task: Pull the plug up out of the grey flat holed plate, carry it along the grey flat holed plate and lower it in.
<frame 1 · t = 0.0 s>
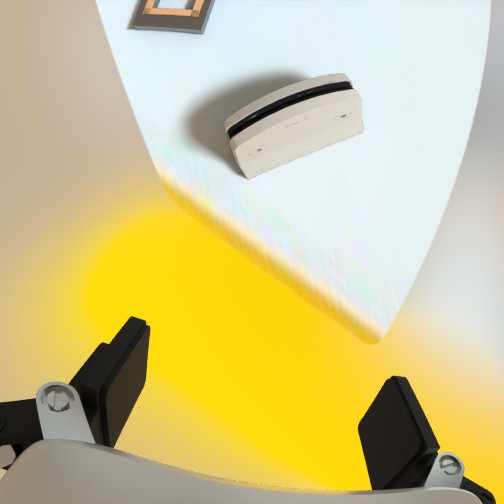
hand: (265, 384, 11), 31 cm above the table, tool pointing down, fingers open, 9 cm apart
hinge: (293, 127, 37), on the table
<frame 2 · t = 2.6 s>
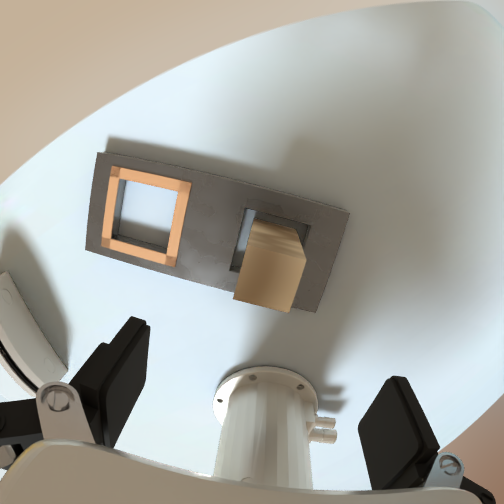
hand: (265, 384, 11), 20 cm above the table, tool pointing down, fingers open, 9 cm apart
plug: (269, 243, 30), resting in grey flat holed plate
grey flat holed plate: (207, 227, 30), on the table
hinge: (33, 323, 35), on the table
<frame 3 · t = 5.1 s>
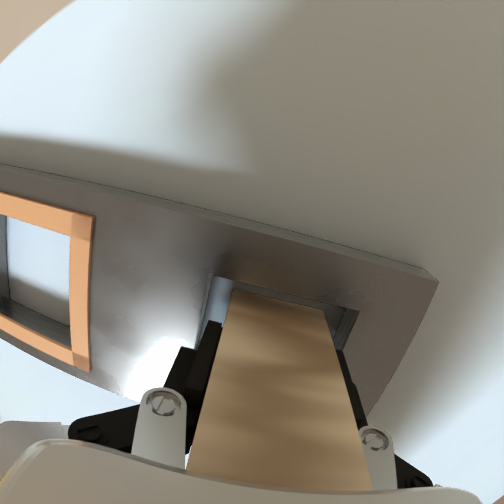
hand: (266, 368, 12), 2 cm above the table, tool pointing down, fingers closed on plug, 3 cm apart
plug: (267, 337, 14), resting in grey flat holed plate, touching gripper
grey flat holed plate: (141, 303, 14), on the table
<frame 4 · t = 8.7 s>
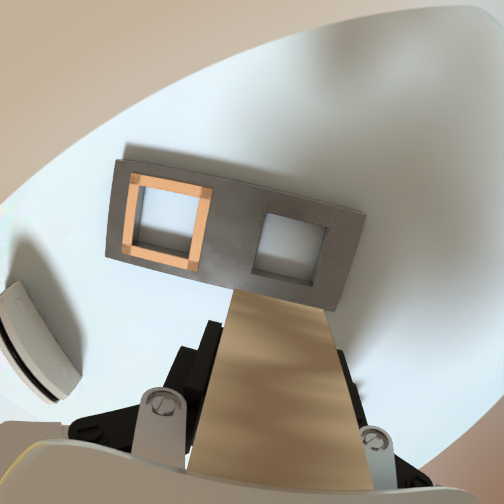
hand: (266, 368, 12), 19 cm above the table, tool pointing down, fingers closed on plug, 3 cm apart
plug: (267, 337, 14), point 17 cm above the table, touching gripper
grey flat holed plate: (228, 232, 30), on the table
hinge: (47, 331, 36), on the table
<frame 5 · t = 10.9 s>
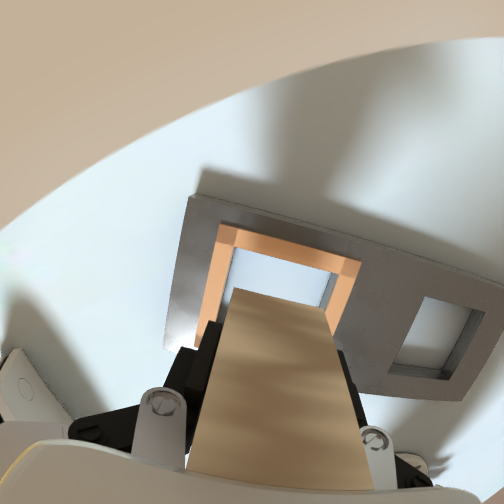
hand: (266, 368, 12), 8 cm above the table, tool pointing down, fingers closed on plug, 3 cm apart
plug: (267, 336, 14), point 6 cm above the table, touching gripper
grey flat holed plate: (360, 317, 20), on the table
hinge: (62, 411, 26), on the table
when the fingers open (3 cm above the table, at t = 12.7 s): plug stays where it is, resting in grey flat holed plate.
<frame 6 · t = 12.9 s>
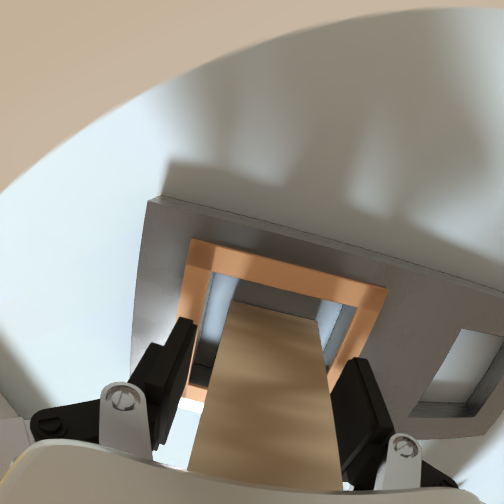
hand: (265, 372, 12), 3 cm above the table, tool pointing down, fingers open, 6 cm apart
plug: (262, 345, 15), resting in grey flat holed plate
grey flat holed plate: (379, 354, 15), on the table
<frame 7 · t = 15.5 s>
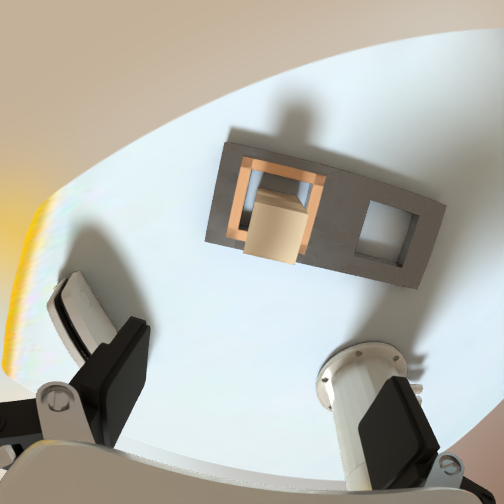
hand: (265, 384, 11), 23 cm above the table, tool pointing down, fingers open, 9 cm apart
plug: (273, 210, 32), resting in grey flat holed plate
grey flat holed plate: (331, 217, 32), on the table
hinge: (107, 325, 38), on the table
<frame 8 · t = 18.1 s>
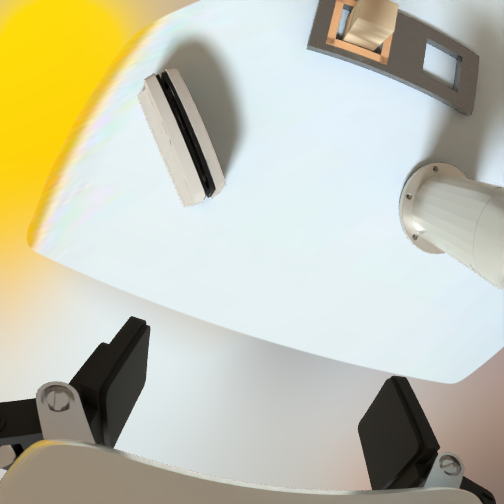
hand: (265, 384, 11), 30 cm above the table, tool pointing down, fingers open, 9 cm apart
plug: (358, 36, 32), resting in grey flat holed plate
grey flat holed plate: (400, 48, 32), on the table
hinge: (187, 138, 38), on the table
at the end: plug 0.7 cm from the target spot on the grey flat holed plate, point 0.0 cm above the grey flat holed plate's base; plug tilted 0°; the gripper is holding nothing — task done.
